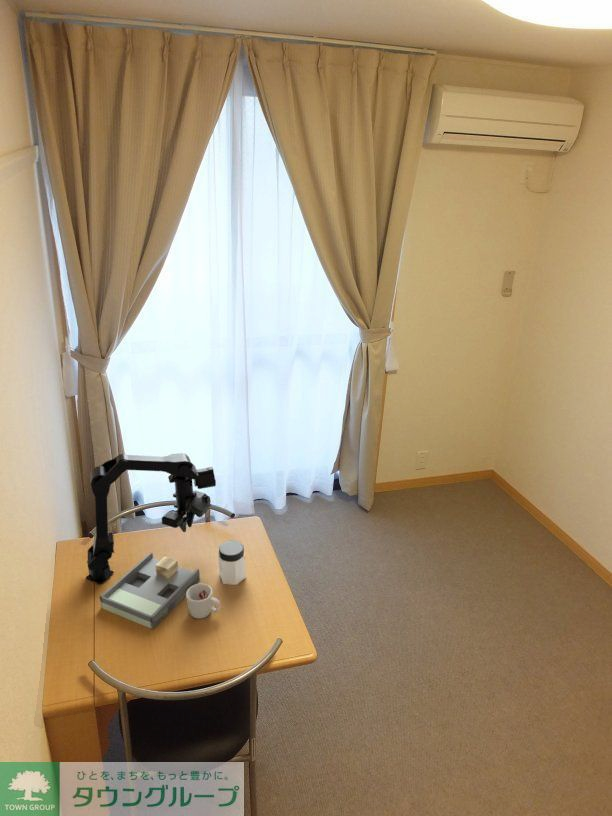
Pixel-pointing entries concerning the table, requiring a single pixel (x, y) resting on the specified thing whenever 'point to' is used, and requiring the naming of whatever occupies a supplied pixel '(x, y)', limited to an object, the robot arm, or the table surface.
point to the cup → (201, 600)
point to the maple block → (166, 567)
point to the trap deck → (147, 592)
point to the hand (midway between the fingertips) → (187, 529)
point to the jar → (231, 562)
